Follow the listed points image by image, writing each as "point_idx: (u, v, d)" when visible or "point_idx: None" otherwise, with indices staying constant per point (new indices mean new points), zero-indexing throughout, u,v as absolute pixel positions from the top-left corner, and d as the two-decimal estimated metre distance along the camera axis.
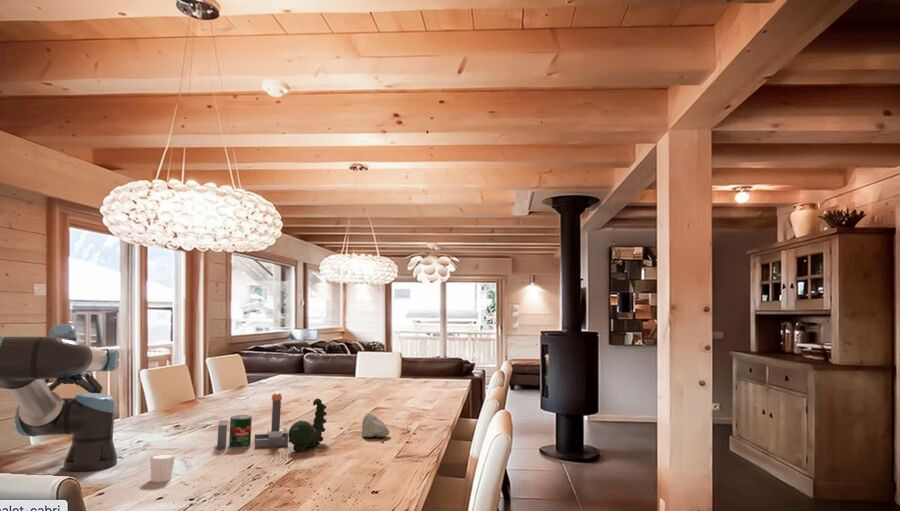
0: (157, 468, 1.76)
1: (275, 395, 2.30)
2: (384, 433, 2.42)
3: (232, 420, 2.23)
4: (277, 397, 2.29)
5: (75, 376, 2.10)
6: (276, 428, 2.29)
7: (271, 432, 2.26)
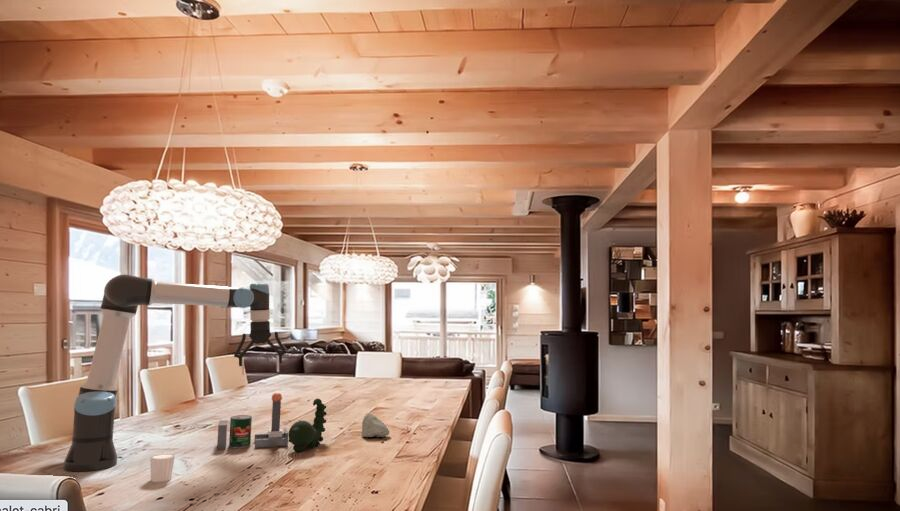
0: (157, 468, 1.76)
1: (275, 395, 2.30)
2: (384, 433, 2.42)
3: (232, 420, 2.23)
4: (277, 397, 2.29)
5: (266, 334, 2.38)
6: (276, 428, 2.29)
7: (271, 432, 2.26)
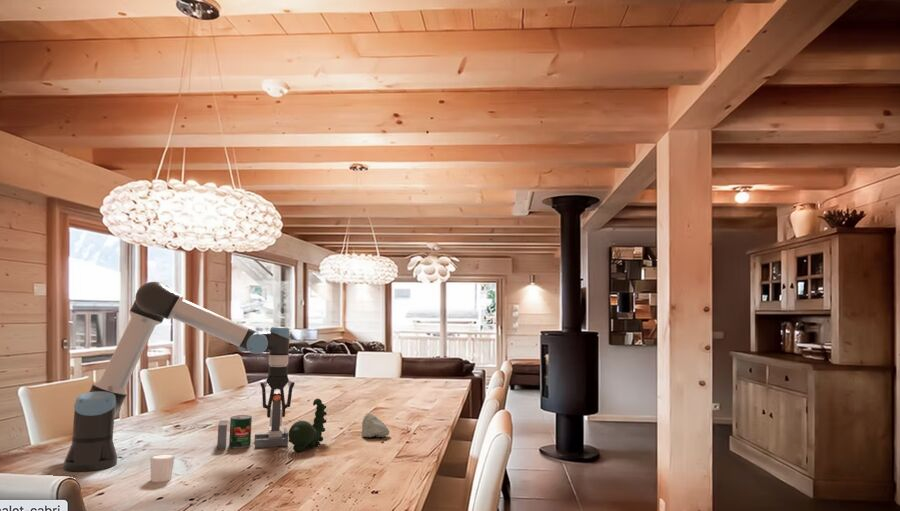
0: (157, 468, 1.76)
1: (275, 395, 2.30)
2: (384, 433, 2.42)
3: (232, 420, 2.23)
4: (277, 397, 2.29)
5: (284, 379, 2.31)
6: (276, 428, 2.29)
7: (271, 432, 2.26)
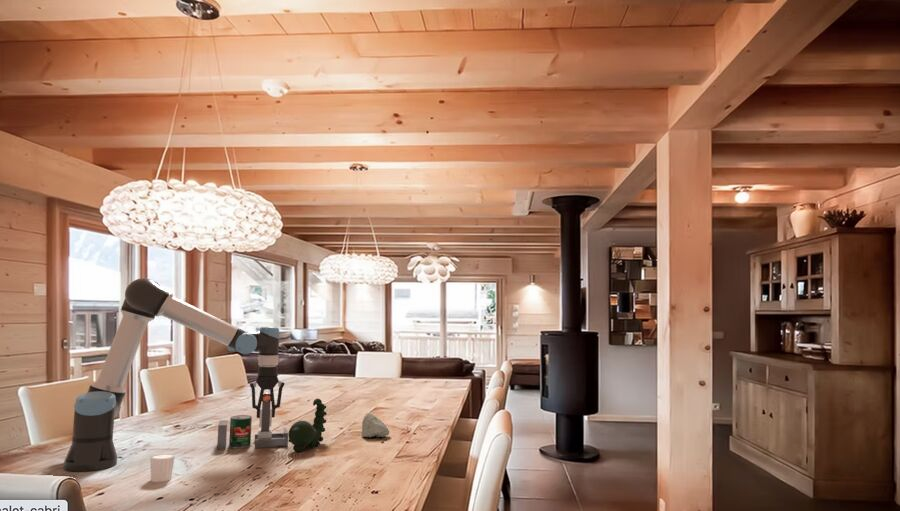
0: (157, 468, 1.76)
1: (265, 395, 2.28)
2: (384, 433, 2.42)
3: (232, 420, 2.23)
4: (266, 397, 2.28)
5: (274, 380, 2.30)
6: (266, 428, 2.27)
7: (260, 432, 2.25)
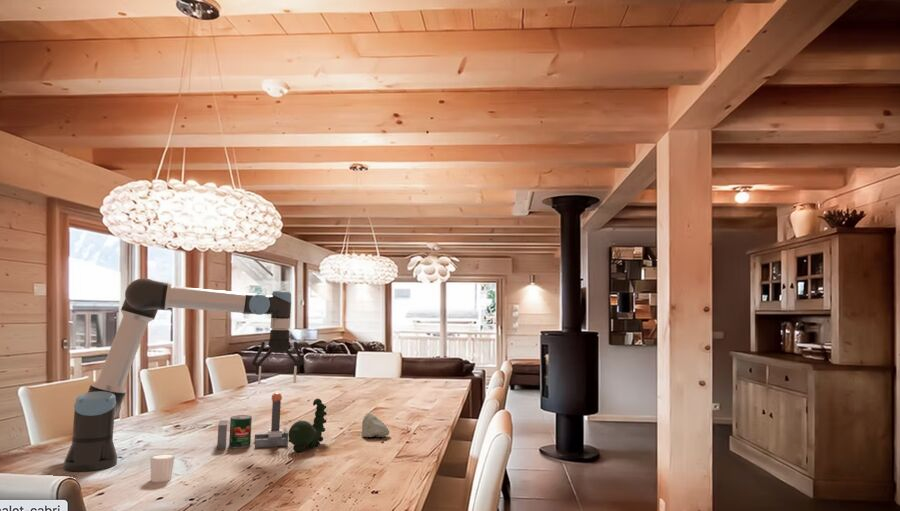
0: (157, 468, 1.76)
1: (275, 395, 2.30)
2: (384, 433, 2.42)
3: (232, 420, 2.23)
4: (276, 397, 2.29)
5: (285, 343, 2.33)
6: (276, 428, 2.28)
7: (271, 432, 2.26)
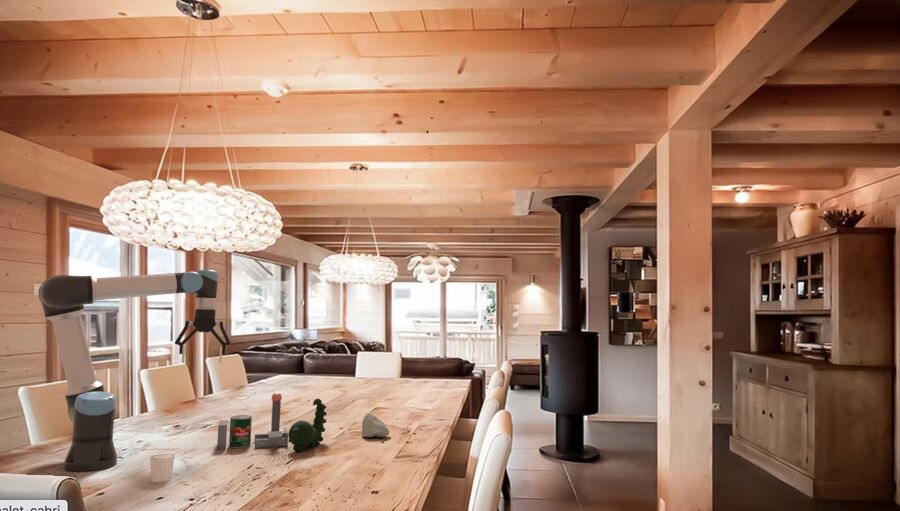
0: (157, 468, 1.76)
1: (275, 395, 2.30)
2: (384, 433, 2.42)
3: (232, 420, 2.23)
4: (276, 397, 2.29)
5: (211, 323, 2.30)
6: (276, 428, 2.28)
7: (271, 432, 2.26)
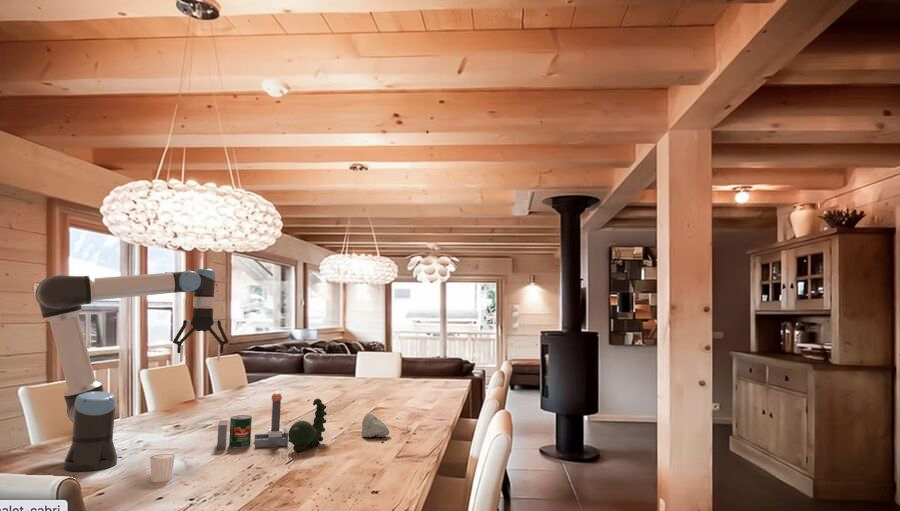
0: (157, 468, 1.76)
1: (275, 395, 2.30)
2: (384, 433, 2.42)
3: (232, 420, 2.23)
4: (276, 397, 2.29)
5: (209, 321, 2.31)
6: (276, 428, 2.28)
7: (271, 432, 2.26)
